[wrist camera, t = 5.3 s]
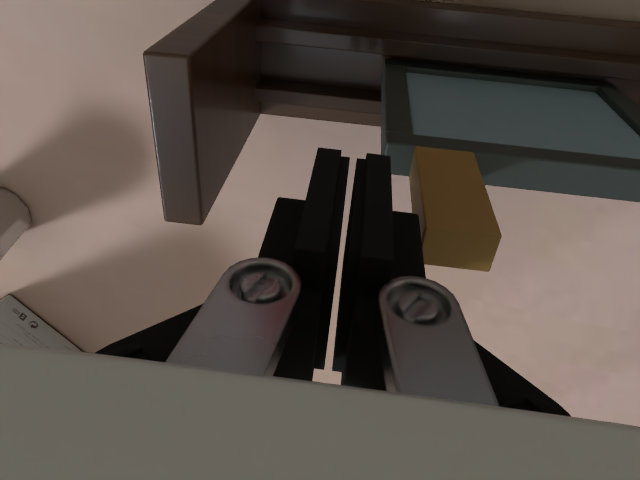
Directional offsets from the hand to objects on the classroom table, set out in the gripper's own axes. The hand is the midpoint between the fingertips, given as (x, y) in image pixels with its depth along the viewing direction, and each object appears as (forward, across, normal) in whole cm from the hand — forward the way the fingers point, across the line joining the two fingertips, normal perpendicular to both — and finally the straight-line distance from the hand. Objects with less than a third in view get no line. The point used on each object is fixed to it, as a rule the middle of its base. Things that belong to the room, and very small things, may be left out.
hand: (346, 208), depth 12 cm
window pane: (+11, -5, 0) cm, 12 cm away
